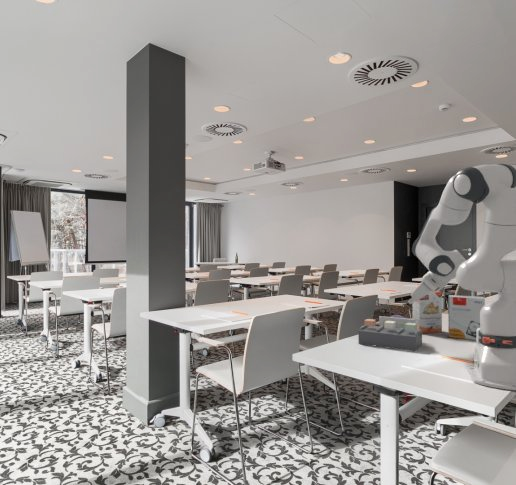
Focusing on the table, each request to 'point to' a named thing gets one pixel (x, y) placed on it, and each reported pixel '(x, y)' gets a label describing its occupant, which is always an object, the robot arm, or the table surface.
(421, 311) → the cracker box
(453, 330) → the hard drive box
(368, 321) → the terracotta key
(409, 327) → the sage key
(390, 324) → the cream key
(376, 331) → the key console
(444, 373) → the table surface
